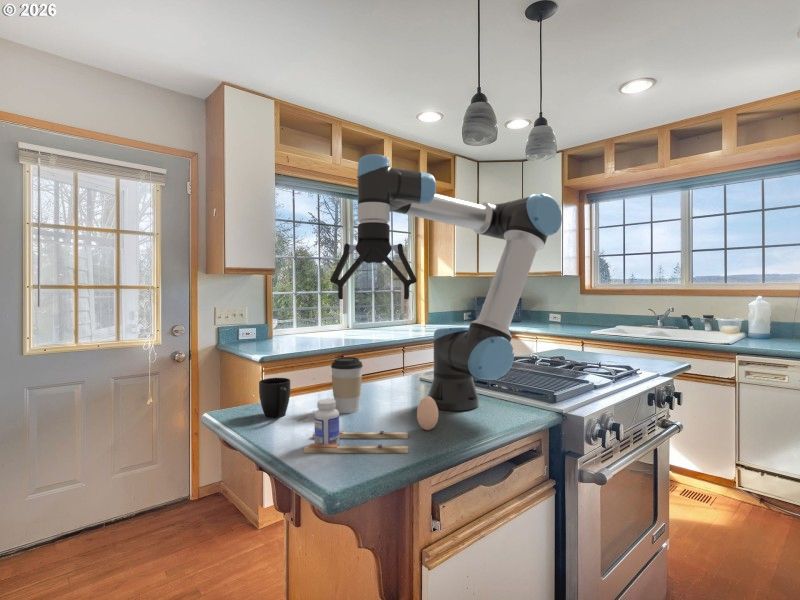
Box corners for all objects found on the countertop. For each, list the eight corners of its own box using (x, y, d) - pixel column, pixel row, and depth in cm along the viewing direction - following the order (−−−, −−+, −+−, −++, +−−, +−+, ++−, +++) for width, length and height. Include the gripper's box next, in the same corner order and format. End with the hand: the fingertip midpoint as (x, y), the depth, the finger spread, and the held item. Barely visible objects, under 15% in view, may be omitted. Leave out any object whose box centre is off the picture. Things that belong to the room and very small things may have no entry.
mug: (267, 425, 108) (266, 388, 108) (256, 413, 118) (255, 379, 118) (298, 420, 112) (298, 384, 112) (285, 409, 122) (285, 376, 122)
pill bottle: (339, 439, 98) (339, 397, 98) (339, 448, 93) (338, 403, 93) (315, 440, 98) (315, 398, 97) (313, 449, 92) (313, 404, 92)
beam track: (407, 436, 100) (407, 431, 100) (408, 452, 90) (408, 446, 90) (313, 436, 100) (313, 430, 100) (304, 452, 90) (304, 446, 90)
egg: (412, 428, 106) (412, 395, 105) (428, 424, 109) (428, 392, 109) (426, 434, 101) (426, 400, 101) (442, 430, 105) (442, 396, 104)
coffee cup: (324, 412, 120) (324, 358, 119) (341, 404, 128) (341, 354, 128) (353, 415, 116) (353, 361, 116) (368, 407, 125) (368, 356, 124)
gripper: (425, 225, 104) (425, 312, 105) (323, 225, 104) (324, 312, 105) (427, 220, 97) (427, 314, 97) (317, 221, 97) (318, 314, 98)
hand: (373, 313), depth 101 cm, fingers open, 13 cm apart
